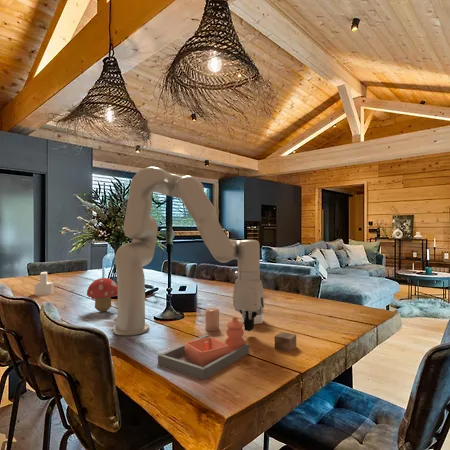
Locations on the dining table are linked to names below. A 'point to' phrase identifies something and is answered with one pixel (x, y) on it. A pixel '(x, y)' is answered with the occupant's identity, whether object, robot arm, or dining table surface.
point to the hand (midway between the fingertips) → (249, 329)
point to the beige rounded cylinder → (212, 319)
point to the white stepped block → (43, 285)
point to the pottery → (215, 345)
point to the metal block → (285, 341)
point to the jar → (257, 319)
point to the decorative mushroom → (102, 293)
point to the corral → (193, 370)
